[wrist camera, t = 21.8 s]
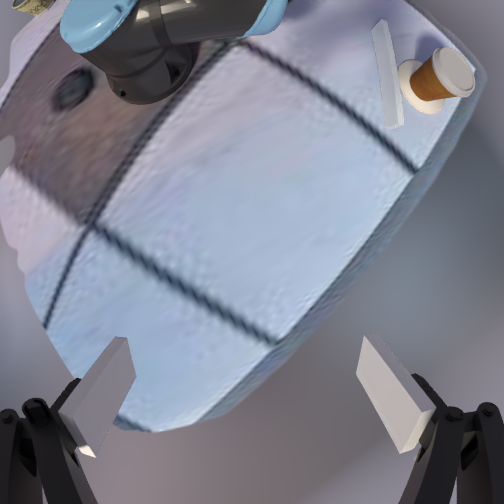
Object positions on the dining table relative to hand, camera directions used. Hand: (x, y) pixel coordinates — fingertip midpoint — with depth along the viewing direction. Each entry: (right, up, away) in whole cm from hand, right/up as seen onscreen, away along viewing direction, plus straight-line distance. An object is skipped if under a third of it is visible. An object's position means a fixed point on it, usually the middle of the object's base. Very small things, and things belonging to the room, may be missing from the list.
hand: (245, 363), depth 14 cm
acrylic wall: (+24, +38, +25) cm, 51 cm away
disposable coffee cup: (+33, +38, +25) cm, 56 cm away
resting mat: (+34, +38, +25) cm, 57 cm away
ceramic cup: (-51, +69, +16) cm, 87 cm away
